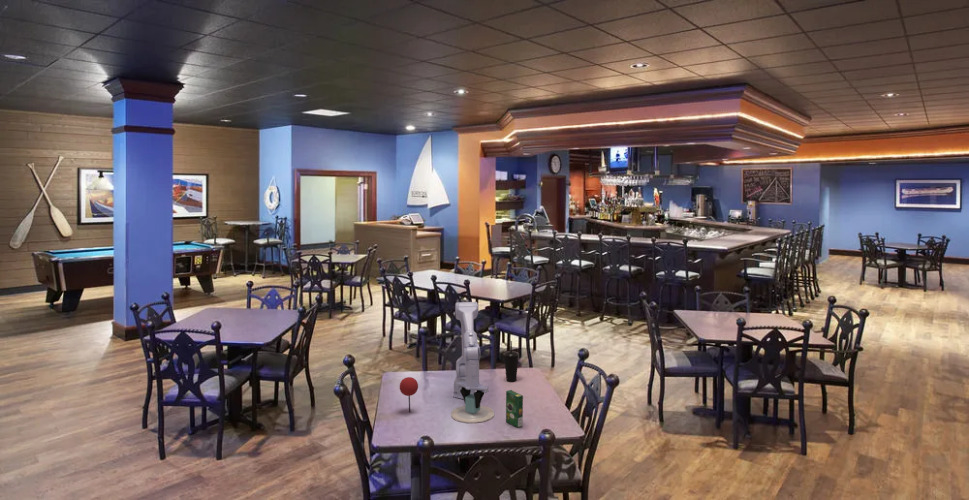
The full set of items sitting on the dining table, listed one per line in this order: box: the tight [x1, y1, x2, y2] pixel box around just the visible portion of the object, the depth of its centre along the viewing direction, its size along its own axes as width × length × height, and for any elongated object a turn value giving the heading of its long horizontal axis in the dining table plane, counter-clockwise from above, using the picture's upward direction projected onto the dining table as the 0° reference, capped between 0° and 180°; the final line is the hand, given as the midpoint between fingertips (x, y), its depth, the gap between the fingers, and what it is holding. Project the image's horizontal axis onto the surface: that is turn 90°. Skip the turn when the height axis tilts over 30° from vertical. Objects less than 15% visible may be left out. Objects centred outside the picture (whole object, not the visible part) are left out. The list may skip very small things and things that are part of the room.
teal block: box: [464, 394, 480, 413], centre depth 245 cm, size 4×4×6 cm
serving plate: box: [450, 405, 495, 424], centre depth 245 cm, size 18×18×1 cm
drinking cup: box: [502, 340, 520, 383], centre depth 288 cm, size 8×8×20 cm
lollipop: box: [399, 376, 419, 413], centre depth 249 cm, size 8×8×15 cm
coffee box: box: [505, 389, 524, 429], centre depth 234 cm, size 8×3×13 cm, turn 35°
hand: (472, 406), depth 245 cm, fingers closed on teal block, 4 cm apart
